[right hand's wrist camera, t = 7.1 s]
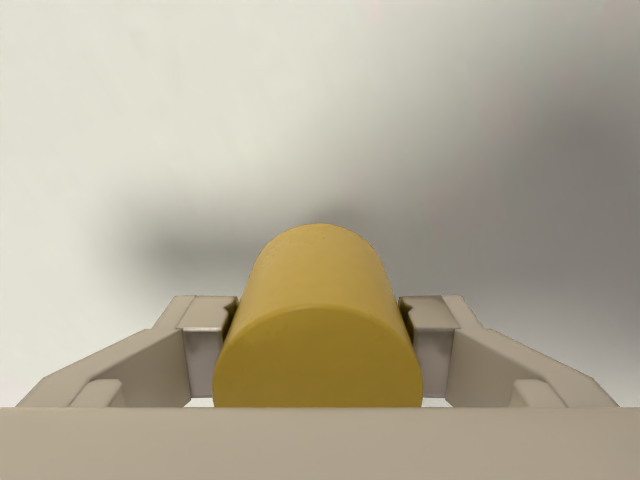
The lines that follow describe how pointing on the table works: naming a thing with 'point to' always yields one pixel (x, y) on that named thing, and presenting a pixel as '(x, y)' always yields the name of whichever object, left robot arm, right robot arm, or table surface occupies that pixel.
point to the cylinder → (317, 329)
